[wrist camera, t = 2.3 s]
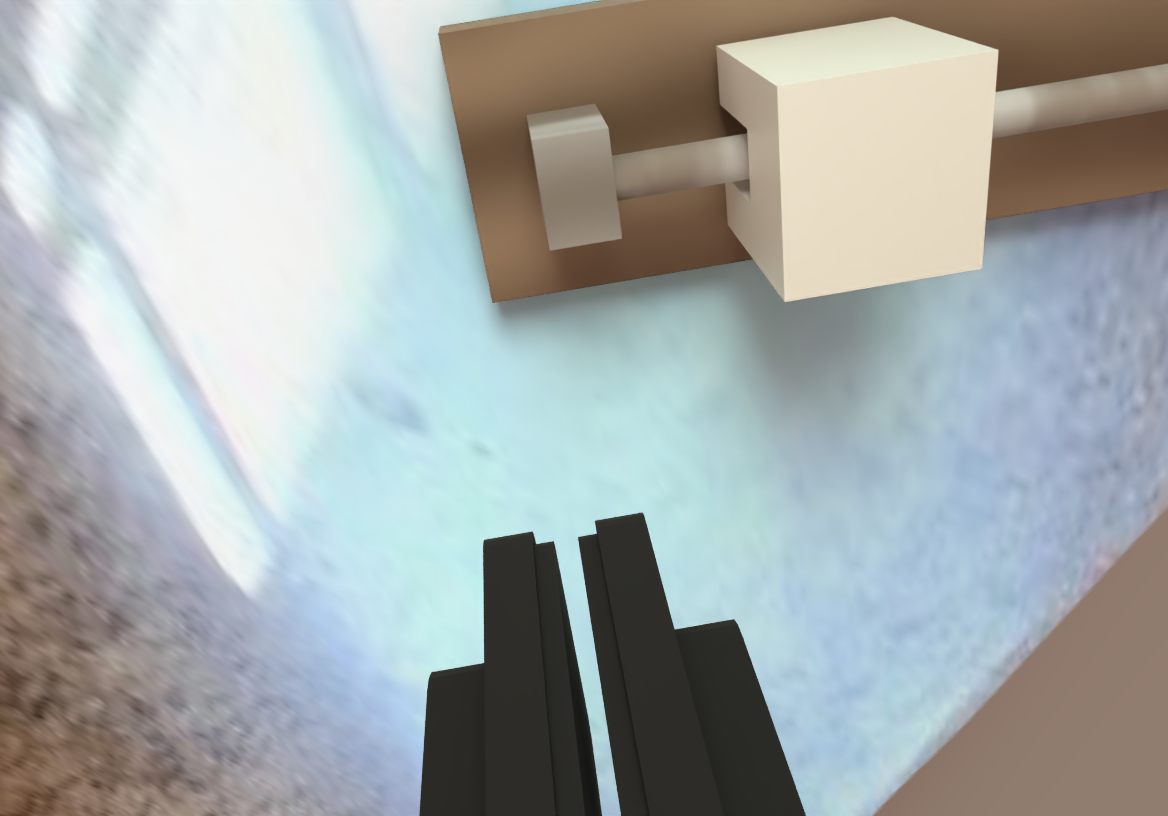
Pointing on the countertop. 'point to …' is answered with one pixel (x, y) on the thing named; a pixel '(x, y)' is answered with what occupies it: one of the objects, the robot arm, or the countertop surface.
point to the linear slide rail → (719, 141)
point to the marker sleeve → (860, 154)
